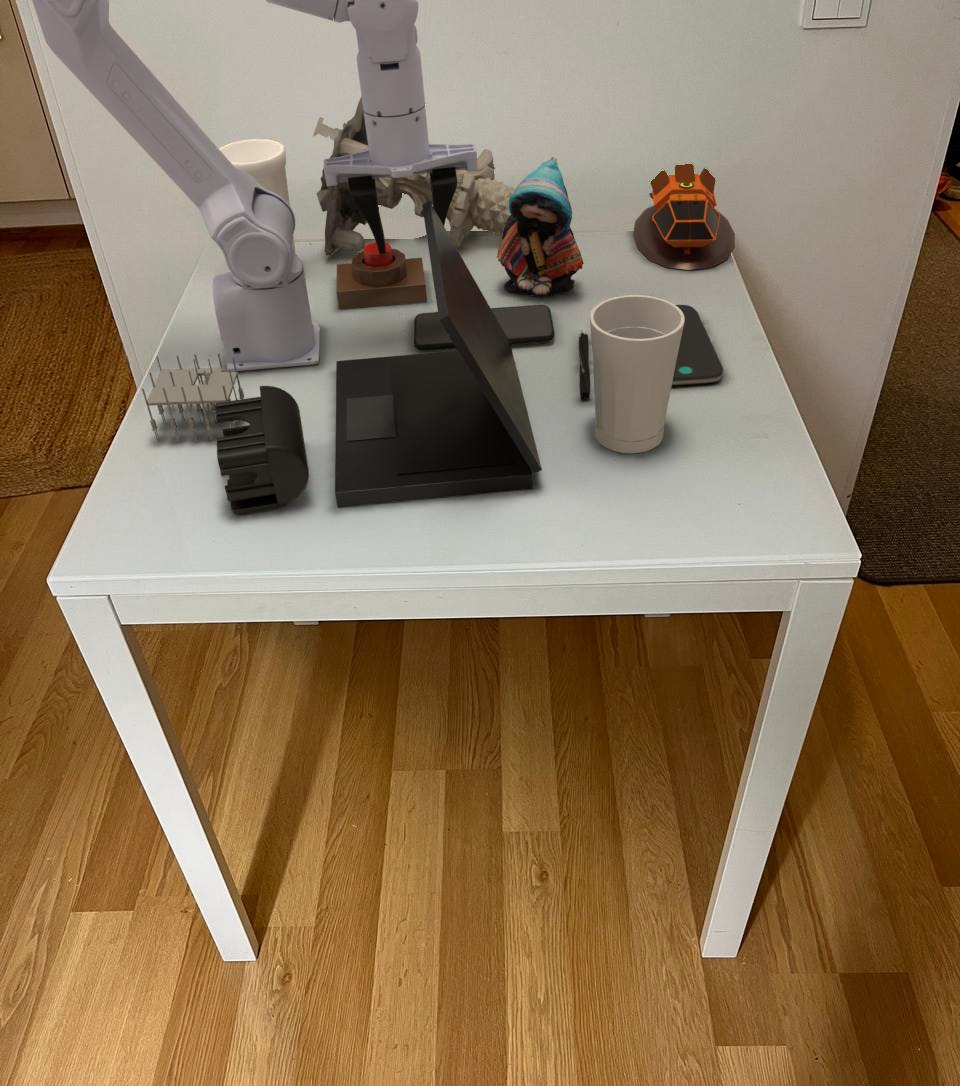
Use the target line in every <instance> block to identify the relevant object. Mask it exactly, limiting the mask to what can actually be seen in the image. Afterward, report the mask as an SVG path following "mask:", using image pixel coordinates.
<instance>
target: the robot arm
mask: <svg viewBox="0 0 960 1086" xmlns="http://www.w3.org/2000/svg"><path fill="white" fill-rule="evenodd" d="M31 1H32V4H33V8H34V10H35V14H36V17H37V20H38V22H39V26H40V29H41V32H42V35H43V38H44V40H45V43H46V45H47V46H48V48H49V49H50V50H51V52H52V53H53V54H54V55H55V56H56V58H58V60H60V61H61V63H63V65H64V66H65V67H66V68H67V69H68V70H69V71H70V72H71V73H72V74H73V75H74V76H75V78H76V79H78V81H79V82H80V83H81V84H82V85H83V86H84V87H85V89H87V90H88V91H89V93H90V94H91V95H92V96H93V97H94V98H95V99H96V100H97V101H98V102H99V103H100V104H101V106H102V107H104V109H105V110H106V111H107V112H108V113H109V114H110V115H111V116H112V117H113V118H114V120H116V121H117V122H118V124H119V125H120V126H121V127H122V128H123V129H124V130H125V131H126V132H127V134H128V135H130V136H131V138H132V139H133V140H134V141H135V142H136V143H137V144H138V145H139V146H140V147H141V148H142V149H143V150H144V151H145V152H146V154H147V155H148V156H149V157H150V158H151V159H152V160H153V161H154V162H155V163H156V165H157V166H158V167H160V169H161V170H162V171H163V172H164V173H165V174H166V175H167V176H168V177H169V178H170V180H171V181H172V182H173V183H174V184H175V185H176V186H177V187H178V188H179V189H180V190H181V191H182V192H183V194H185V196H186V197H187V198H188V199H189V200H190V201H191V202H192V203H193V205H195V206H196V207H197V209H198V210H199V213H200V215H201V217H202V220H203V222H204V224H205V227H206V229H207V232H208V234H209V237H210V238H211V239H212V240H213V242H214V243H216V244H217V246H218V248H220V250H221V252H222V253H223V256H224V259H225V262H226V265H227V268H228V269H229V271H227V272H224V273H219V274H216V275H214V276H213V279H212V298H213V305H214V311H215V316H216V321H217V325H218V329H219V335H220V338H221V343H222V346H223V351H224V355H225V360H226V363H227V364H226V370H227V372H229V369H230V371H231V372H235V369H234V364H233V360H232V357H234V360H235V364H236V369H237V372H242V371H253V370H254V371H255V370H265V369H275V368H276V369H278V368H286V367H287V368H288V367H299V366H311V365H312V366H313V365H317V364H318V363H320V350H321V349H320V347H321V345H320V344H321V325H320V324H318V323H313V317H312V312H311V306H310V300H309V294H308V288H307V282H306V275H305V270H304V269H305V268H304V263H303V260H302V259H301V258H300V257H299V255H298V254H297V253H296V251H295V252H294V251H293V249H292V239H293V236H294V234H295V229H296V216H295V213H294V211H293V208H292V207H291V204H290V205H289V204H288V203H287V201H286V200H285V199H283V198H282V197H281V196H279V195H278V194H276V193H273V192H271V191H269V190H267V189H265V188H264V187H262V186H261V185H260V184H259V183H258V182H257V181H256V180H255V179H254V177H253V176H251V175H250V174H248V173H245V172H243V171H241V170H238V169H236V168H235V167H234V166H233V165H232V163H231V162H230V161H229V160H228V159H227V158H226V157H225V155H224V154H223V153H222V152H221V151H220V150H219V147H217V145H216V144H215V143H214V141H212V140H211V138H210V137H209V136H208V135H207V134H206V132H204V130H203V129H202V128H201V127H200V126H199V125H198V123H197V122H196V121H195V120H194V119H193V118H192V117H191V116H190V114H189V113H188V112H187V111H186V110H185V109H184V108H183V107H182V105H181V104H180V103H179V102H178V101H177V99H176V98H175V97H174V96H173V95H172V94H171V93H170V91H169V90H168V89H167V88H166V86H164V85H163V83H161V81H160V80H159V79H158V78H157V77H156V76H155V75H154V73H153V72H152V71H151V70H150V69H149V67H148V66H147V65H146V64H145V63H144V62H143V60H142V59H140V58H139V56H138V55H137V54H136V53H135V51H133V49H132V48H131V47H130V46H129V45H128V44H127V42H126V41H125V40H124V39H123V38H122V37H121V36H120V34H119V33H118V32H117V31H116V30H115V29H114V27H112V26H111V25H112V24H111V23H110V0H31ZM265 1H266V2H267V3H268V4H273V5H275V6H279V7H283V8H286V9H290V10H293V11H297V12H300V13H304V14H307V15H310V16H314V17H317V18H320V19H324V20H327V21H332V22H335V23H344V22H350V23H351V25H352V27H353V28H354V29H355V34H356V41H357V49H358V52H357V54H356V64H357V72H358V73H357V74H358V80H359V87H360V95H361V96H362V103H363V111H364V118H365V126H366V133H367V140H368V148H369V150H367V151H363V152H358V153H354V154H350V155H346V156H341V157H336V158H330V157H329V158H324V159H323V168H324V173H325V179H326V185H327V186H335V185H338V182H348V183H349V193H350V196H351V198H352V200H353V202H354V203H355V204H356V206H357V207H358V208H359V210H360V211H361V213H362V214H363V216H364V218H365V219H366V221H367V223H366V224H367V225H368V228H369V229H370V232H371V234H372V236H373V238H374V241H375V242H376V244H377V247H378V251H379V254H384V253H386V246H385V243H386V239H385V232H384V227H383V223H382V218H381V213H380V210H379V207H378V199H377V191H376V183H375V179H377V178H386V177H392V178H401V177H409V176H412V175H416V174H425V173H430V183H431V192H432V202H433V205H432V206H433V208H434V210H435V211H436V213H437V215H438V217H439V218H440V220H441V222H442V224H443V225H444V226H445V224H446V221H447V218H446V216H447V213H448V209H449V206H450V203H451V201H452V198H453V196H454V193H455V191H456V187H457V176H456V170H464V169H466V171H468V172H471V171H478V164H477V159H478V151H477V148H476V144H475V143H467V144H466V143H465V144H448V143H447V144H446V143H445V144H442V143H430V141H429V129H428V120H427V108H426V109H425V104H426V100H425V99H426V98H425V87H424V78H423V67H422V57H421V51H420V49H419V47H418V45H417V44H418V41H419V37H418V36H419V35H418V29H417V27H416V25H415V24H416V22H417V18H418V15H419V14H418V13H419V1H418V0H265ZM361 96H360V97H361Z"/></svg>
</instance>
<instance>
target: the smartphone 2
mask: <svg viewBox="0 0 960 1086" xmlns="http://www.w3.org/2000/svg"><path fill="white" fill-rule="evenodd" d="M675 305H676V306H677V307H678V308H679V309H680V310H681V311H682V312H683V314H684V317H685V321H684V326H683V331H682V336H681V341H680V346H679V350H678V355H677V360H676V365H675V370H674V376H673V381H672V386H671V387H675V386H676V387H677V386H691V385H705V384H713V383H716V382H717V383H718V382H719V381H720V380H721V379H722V378H723V374H724V367H723V365H722V363H721V360H720V358H719V356H718V354H717V352H716V350H715V347H714V345H713V343H712V341H711V339H710V337H709V335H708V333H707V330H706V328H705V325H704V324H703V321H702V319H701V317H700V315H699V313H698V311H697V310H696V308H694V307H693V306H691V305H687V304H675Z"/></svg>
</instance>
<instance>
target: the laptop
mask: <svg viewBox="0 0 960 1086" xmlns="http://www.w3.org/2000/svg"><path fill="white" fill-rule="evenodd" d="M335 368H336V371H335V372H336V373H335V374H336V375H335V380H336V381H335V452H334V453H335V457H334V458H335V461H334V462H335V463H334V464H335V465H334V466H335V467H334V472H335V473H334V495H335V501H336V507H337V508H344V507H355V506H365V505H366V506H367V505H379V504H386V503H398V502H408V501H420V500H430V499H431V500H432V499H439V498H450V497H451V498H452V497H463V496H473V495H484V494H492V493H493V494H494V493H503V492H513V491H514V492H515V491H526V490H533V488H534V486H533V485H534V483H533V482H534V481H533V478H534V477H533V476H534V475H533V472H532V470H531V469H530V467H529V465H528V464H527V462H526V461H525V459H524V457H523V456H522V454H521V452H520V451H519V449H518V448H517V446H516V444H515V443H514V441H513V439H512V438H511V436H510V435H509V433H508V431H507V430H506V428H505V426H504V425H503V423H502V422H501V420H500V418H499V417H498V415H497V413H496V412H495V410H494V409H493V407H492V405H491V404H490V402H489V400H488V399H487V397H486V396H485V394H484V392H483V391H482V389H481V387H480V386H479V384H478V383H477V381H476V379H475V378H474V376H473V374H472V373H471V371H470V370H469V368H468V366H467V365H466V363H465V361H464V360H463V358H462V357H461V355H460V353H459V352H458V350H457V349H456V350H448V351H447V350H446V351H437V352H436V351H435V352H434V351H433V352H424V353H412V354H401V355H390V356H378V357H376V356H375V357H365V358H355V359H354V358H353V359H343V360H337V361H336V367H335Z"/></svg>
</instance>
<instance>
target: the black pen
mask: <svg viewBox="0 0 960 1086" xmlns="http://www.w3.org/2000/svg"><path fill="white" fill-rule="evenodd" d="M589 345H590V343H589V334H588V331H587V330H586V329H585V330H584V331H583V329H581V330H580V333H579V337H578V352H579V390H580V397H581V399H582V400H585V399H587V400H589V399H590V398H591V373H590V362H589V361H590V360H589V359H590V356H589V351H590V350H589V349H590V348H589V347H590V346H589Z"/></svg>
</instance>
